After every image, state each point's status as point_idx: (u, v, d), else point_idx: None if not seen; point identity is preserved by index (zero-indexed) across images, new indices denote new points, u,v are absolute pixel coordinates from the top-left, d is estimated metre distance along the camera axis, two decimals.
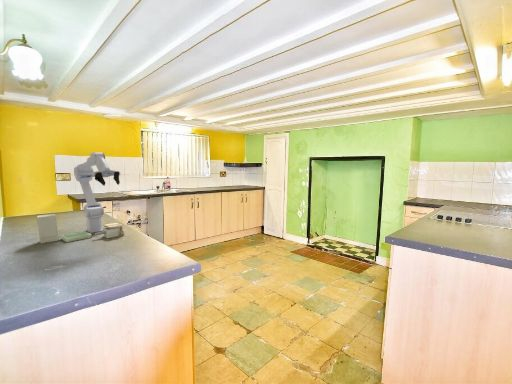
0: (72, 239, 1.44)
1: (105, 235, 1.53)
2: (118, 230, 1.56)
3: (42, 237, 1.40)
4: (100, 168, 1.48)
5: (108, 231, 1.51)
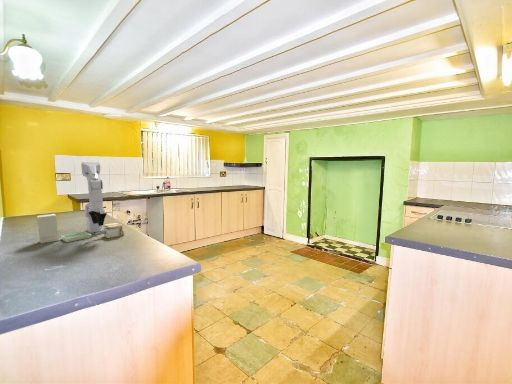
0: (72, 239, 1.44)
1: (105, 235, 1.53)
2: (118, 230, 1.56)
3: (42, 237, 1.40)
4: None
5: (108, 231, 1.51)
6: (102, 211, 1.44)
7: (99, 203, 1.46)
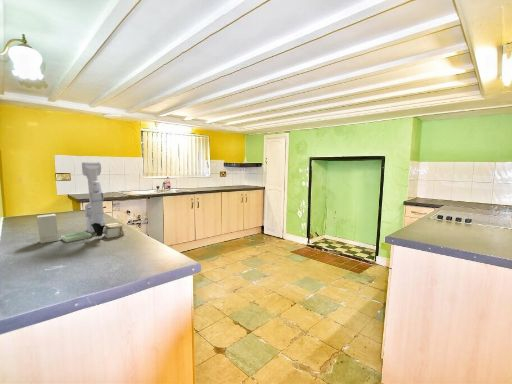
0: (72, 239, 1.44)
1: (106, 235, 1.53)
2: (119, 230, 1.56)
3: (42, 237, 1.40)
4: None
5: (109, 231, 1.51)
6: (103, 223, 1.44)
7: (100, 215, 1.47)
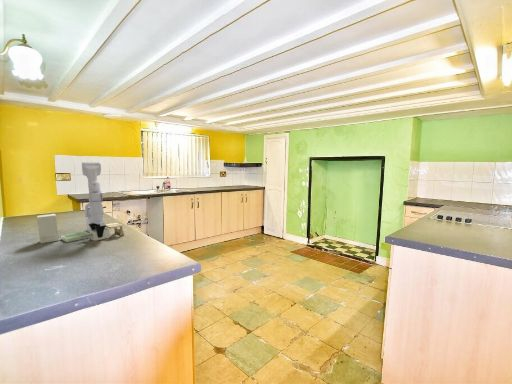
0: (72, 239, 1.44)
1: (92, 237, 1.47)
2: (106, 232, 1.50)
3: (42, 237, 1.40)
4: None
5: (95, 233, 1.46)
6: (102, 223, 1.44)
7: (99, 215, 1.47)
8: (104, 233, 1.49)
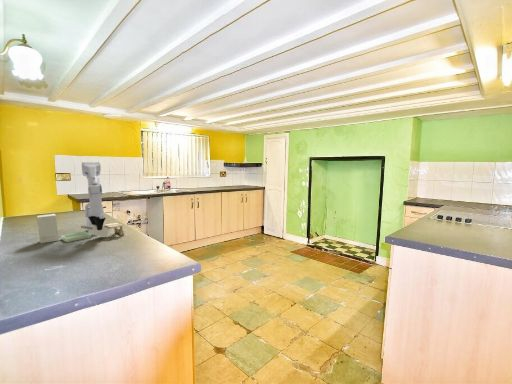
0: (72, 239, 1.44)
1: (90, 231, 1.46)
2: (105, 230, 1.50)
3: (42, 237, 1.40)
4: None
5: (95, 227, 1.46)
6: (101, 216, 1.44)
7: (98, 208, 1.46)
8: (103, 230, 1.49)
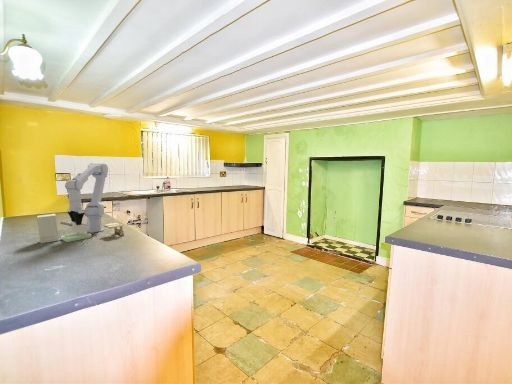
0: (72, 239, 1.44)
1: (70, 228, 1.47)
2: (85, 228, 1.50)
3: (42, 237, 1.40)
4: None
5: (75, 224, 1.46)
6: (80, 211, 1.44)
7: (77, 203, 1.46)
8: (83, 228, 1.49)
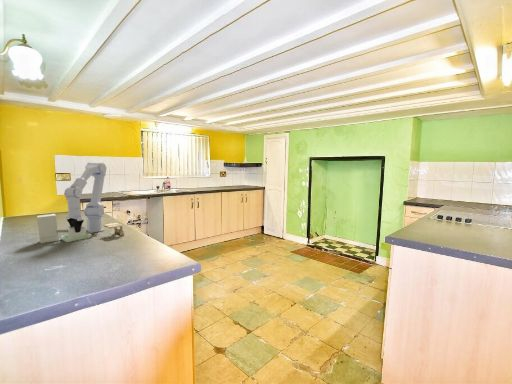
0: (72, 239, 1.44)
1: (67, 234, 1.47)
2: (82, 231, 1.50)
3: (42, 237, 1.40)
4: None
5: (71, 230, 1.45)
6: (79, 218, 1.44)
7: (76, 210, 1.47)
8: (80, 231, 1.49)
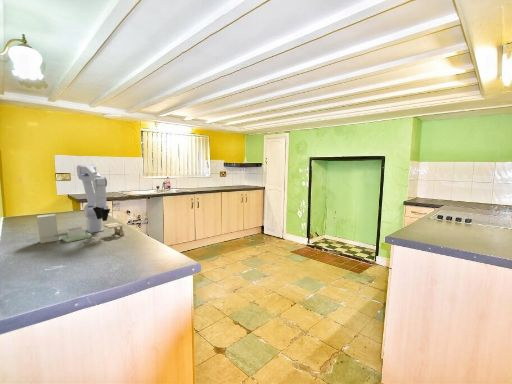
0: (72, 239, 1.44)
1: (67, 237, 1.47)
2: (81, 232, 1.49)
3: (42, 237, 1.40)
4: None
5: (69, 233, 1.45)
6: (106, 207, 1.51)
7: (103, 199, 1.53)
8: (79, 232, 1.49)
